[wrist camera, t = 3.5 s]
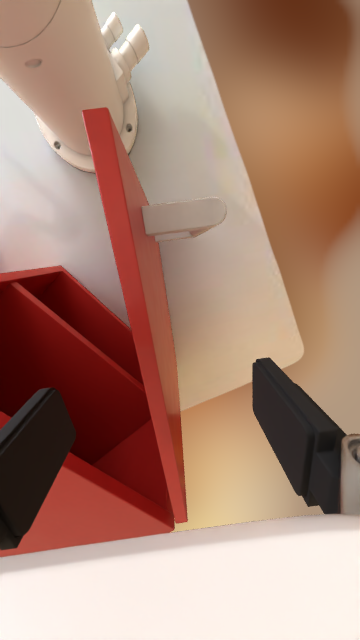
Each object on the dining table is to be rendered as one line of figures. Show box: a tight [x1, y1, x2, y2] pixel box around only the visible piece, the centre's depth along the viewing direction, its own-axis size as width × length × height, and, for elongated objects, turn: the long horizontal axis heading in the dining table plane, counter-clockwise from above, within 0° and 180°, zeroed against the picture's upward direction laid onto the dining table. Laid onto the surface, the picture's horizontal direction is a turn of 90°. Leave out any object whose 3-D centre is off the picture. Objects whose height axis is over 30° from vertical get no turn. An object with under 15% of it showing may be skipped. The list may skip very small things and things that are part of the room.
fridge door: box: [82, 107, 227, 523], centre depth 23 cm, size 7×26×24 cm, turn 7°
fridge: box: [0, 266, 175, 557], centre depth 25 cm, size 18×26×24 cm
